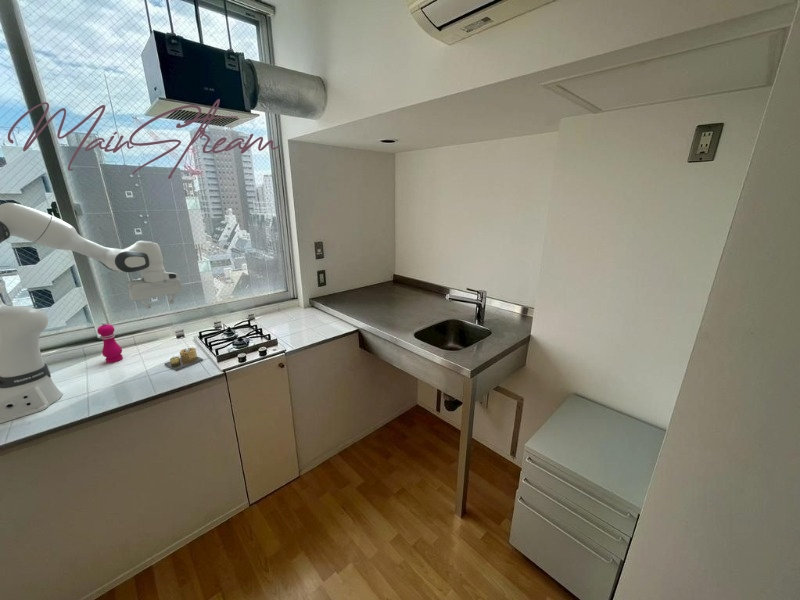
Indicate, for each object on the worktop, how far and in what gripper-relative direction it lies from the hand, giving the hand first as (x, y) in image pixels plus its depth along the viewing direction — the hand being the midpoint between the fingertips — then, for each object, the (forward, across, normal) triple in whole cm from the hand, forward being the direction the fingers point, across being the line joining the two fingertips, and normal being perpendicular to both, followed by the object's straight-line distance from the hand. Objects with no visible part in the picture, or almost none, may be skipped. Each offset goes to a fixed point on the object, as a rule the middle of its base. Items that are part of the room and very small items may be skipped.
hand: (160, 305), depth 146 cm
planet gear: (+27, +5, -7) cm, 28 cm away
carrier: (+28, +2, -7) cm, 29 cm away
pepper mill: (+28, -14, +26) cm, 41 cm away
